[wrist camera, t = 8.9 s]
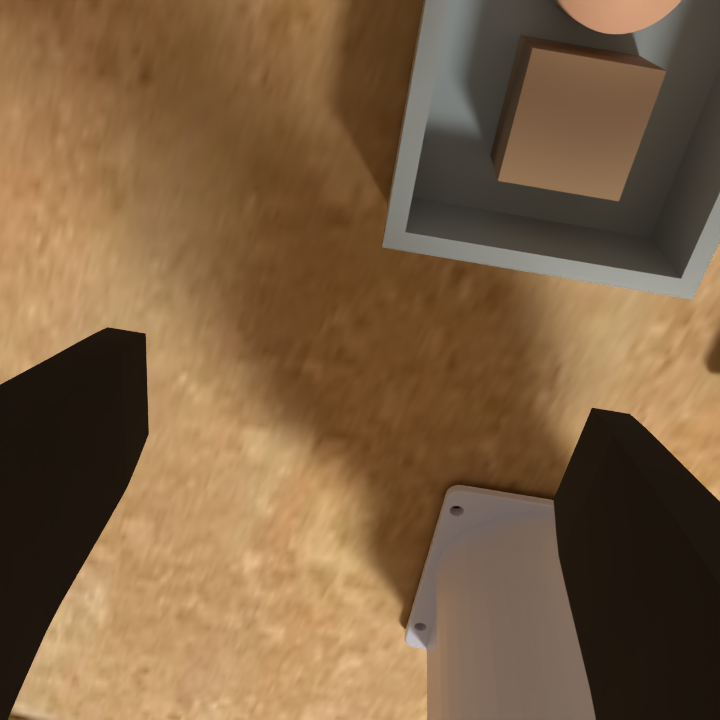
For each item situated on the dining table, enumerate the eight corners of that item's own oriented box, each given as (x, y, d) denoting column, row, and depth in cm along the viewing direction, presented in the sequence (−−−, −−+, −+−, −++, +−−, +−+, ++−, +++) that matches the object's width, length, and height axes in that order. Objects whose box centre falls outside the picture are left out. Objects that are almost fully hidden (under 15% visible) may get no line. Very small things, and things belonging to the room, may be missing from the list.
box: (655, 249, 20) (692, 299, 17) (387, 204, 20) (382, 247, 17) (833, -179, 14) (926, -203, 12) (466, -244, 14) (476, -285, 12)
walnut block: (599, 174, 18) (619, 201, 16) (490, 155, 18) (497, 180, 16) (639, 55, 17) (666, 70, 15) (520, 35, 17) (532, 48, 15)
